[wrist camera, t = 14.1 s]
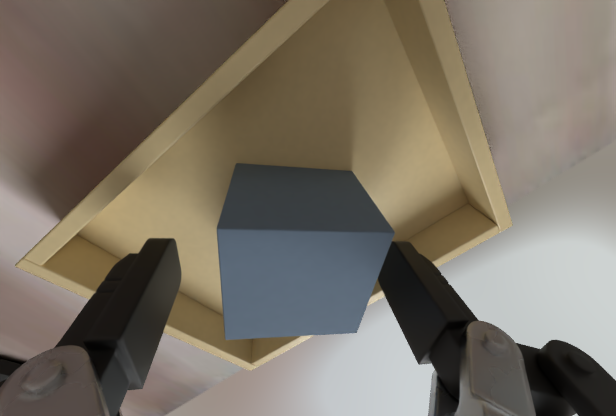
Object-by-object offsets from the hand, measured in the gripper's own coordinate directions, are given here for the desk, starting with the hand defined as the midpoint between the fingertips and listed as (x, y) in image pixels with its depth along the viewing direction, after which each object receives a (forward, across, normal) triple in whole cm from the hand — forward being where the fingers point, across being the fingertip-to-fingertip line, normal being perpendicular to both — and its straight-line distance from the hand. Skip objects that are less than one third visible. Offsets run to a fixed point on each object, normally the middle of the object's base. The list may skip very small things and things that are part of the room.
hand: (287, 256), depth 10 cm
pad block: (+3, 0, 0) cm, 3 cm away
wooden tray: (+3, 0, 0) cm, 3 cm away
